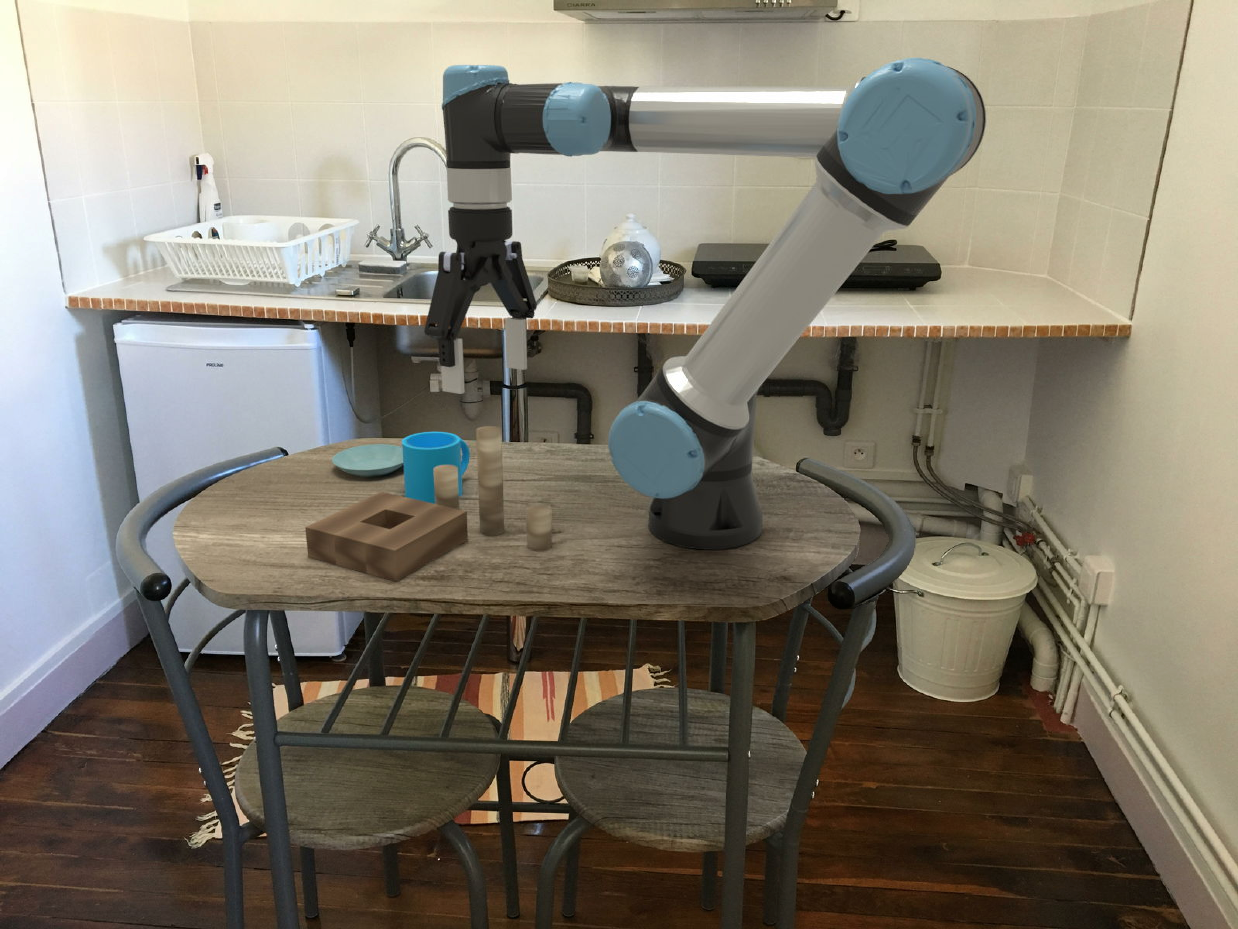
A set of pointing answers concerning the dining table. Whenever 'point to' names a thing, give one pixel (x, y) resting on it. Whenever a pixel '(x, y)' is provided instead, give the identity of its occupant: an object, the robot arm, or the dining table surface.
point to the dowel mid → (446, 486)
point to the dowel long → (490, 480)
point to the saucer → (369, 460)
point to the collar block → (387, 535)
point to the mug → (431, 461)
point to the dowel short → (539, 527)
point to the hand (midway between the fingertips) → (486, 379)
